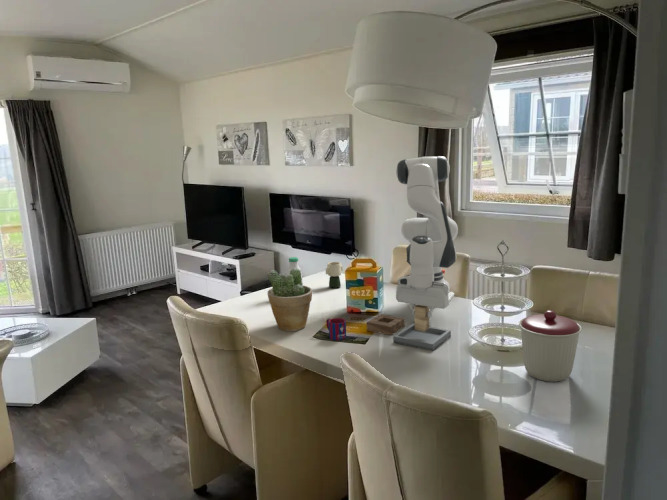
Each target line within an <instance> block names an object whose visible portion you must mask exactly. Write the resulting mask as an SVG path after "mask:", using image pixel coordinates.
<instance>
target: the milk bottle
mask: <svg viewBox="0 0 667 500" xmlns="http://www.w3.org/2000/svg"><path fill="white" fill-rule="evenodd" d="M294 268H297V269H299V270H301V267H300V266H299V257H297V256H294V257H292V256H291V257H289V258H288V269H287V271H286V276H288V275H289V274H290V271H291V270H292V269H294ZM301 278H302V279H303V273H302V271H301ZM302 284H303V280H302Z"/></svg>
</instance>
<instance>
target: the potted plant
mask: <svg viewBox="0 0 667 500" xmlns="http://www.w3.org/2000/svg"><path fill="white" fill-rule="evenodd" d="M301 272H302V270H301V269H300V270H299V269H297V268H294V269H292V270H291V271H290V274H289V275H288V276H287V275H286V274H285V273H283V272H282V273H278V272H277V270H275V269H271V270H269V271H268V272H266V273H267V274H266V277H267V278H268V280H269V282H270V285H271V288H270V289H268V290H267V298H268V303H269V304H270V307H271V311H272V314H273V317H274V319H275V322H276V324H277V327H278V329H279V330H280V331H285V332H296V331H300V330H302V329H304V328H305V327H306V326H307V322H308V316H309V314H310V313H309V312H310V307H311V306H310V305H311V302H312V299H313V289H312V288H311V287H309V286H308V285H303V284H302V281H303V277H302V278H301Z"/></svg>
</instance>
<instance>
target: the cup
mask: <svg viewBox="0 0 667 500" xmlns="http://www.w3.org/2000/svg"><path fill="white" fill-rule="evenodd" d="M325 325H326V328H327V330H328V339H330V340H332V341H342V340H345V339H346V338H347V320H346V319H345V318H343V317H333V318H327V319H326V323H325Z"/></svg>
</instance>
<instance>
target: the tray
mask: <svg viewBox="0 0 667 500" xmlns="http://www.w3.org/2000/svg"><path fill="white" fill-rule="evenodd" d="M451 331H452V330H450V329H443V328H439V327H432V326H429V329H428V330H426V331H425V332H424V331H418V330H415V323H411V324H410V325H408V326H407V327H404V328H403V329H401V331H398V332H397V333H395V335H392V337H393V344H394V343H395V344H398V345H402V346H407V347H413V348H417V349H422V350H426V351H427V350H428V351H432V352H433V351H435V350H436V349H437V348H438V347H440V346H441V345H442V344H444V343H446V341H447V340H448V339H450V338H451V336H452V335H451V334H452V332H451Z"/></svg>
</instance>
